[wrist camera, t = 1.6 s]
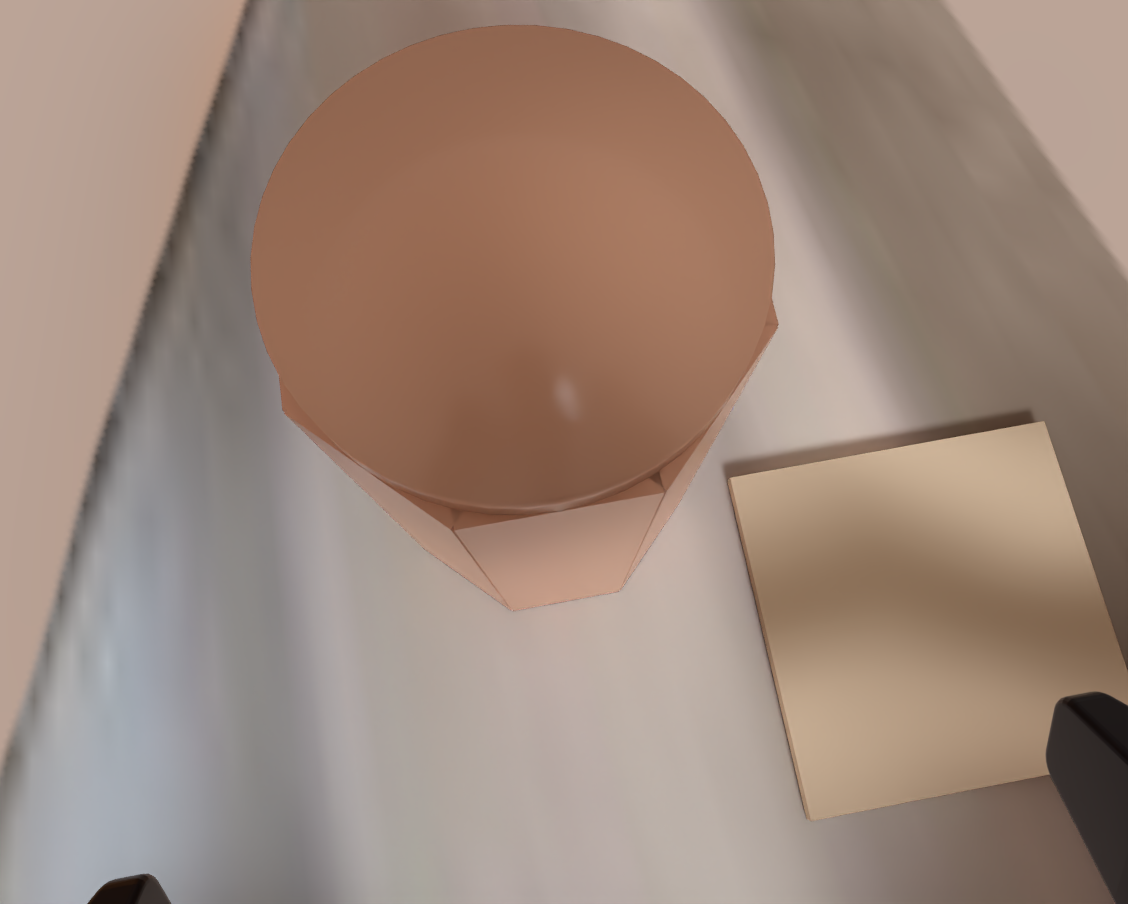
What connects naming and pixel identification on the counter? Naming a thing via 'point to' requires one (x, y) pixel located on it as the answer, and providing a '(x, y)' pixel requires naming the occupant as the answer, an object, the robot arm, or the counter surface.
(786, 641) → the coaster
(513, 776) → the counter surface
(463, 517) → the brown rounded shape
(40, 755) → the counter surface
